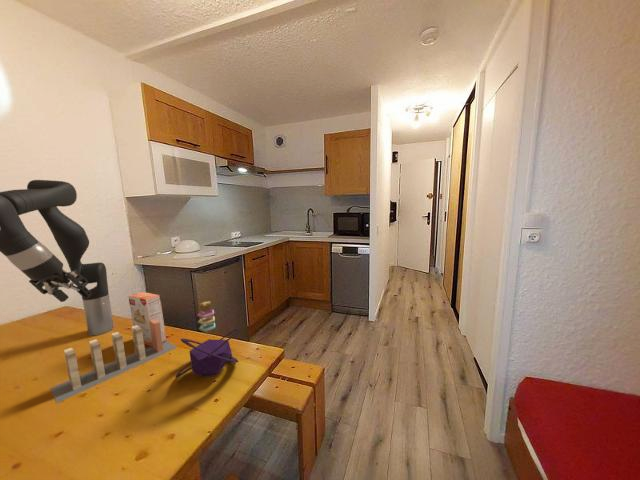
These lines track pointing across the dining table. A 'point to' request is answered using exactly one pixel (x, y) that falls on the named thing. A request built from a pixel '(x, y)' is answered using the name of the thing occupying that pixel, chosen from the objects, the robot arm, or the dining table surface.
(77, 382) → the tile
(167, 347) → the slate mat
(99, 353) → the tile
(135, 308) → the cracker box
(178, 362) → the dining table surface
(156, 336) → the end tile
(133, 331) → the tall wooden block
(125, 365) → the tile
